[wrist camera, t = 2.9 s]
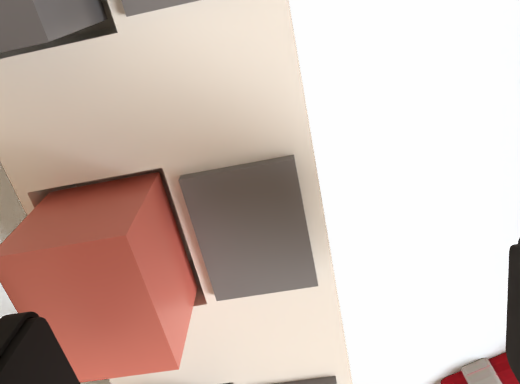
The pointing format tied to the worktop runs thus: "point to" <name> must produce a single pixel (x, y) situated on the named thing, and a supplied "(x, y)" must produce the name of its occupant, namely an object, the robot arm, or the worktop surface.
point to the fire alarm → (484, 372)
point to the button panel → (195, 170)
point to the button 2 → (105, 276)
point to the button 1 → (44, 20)
